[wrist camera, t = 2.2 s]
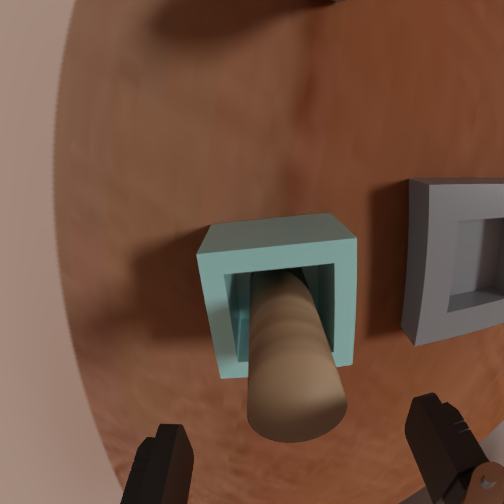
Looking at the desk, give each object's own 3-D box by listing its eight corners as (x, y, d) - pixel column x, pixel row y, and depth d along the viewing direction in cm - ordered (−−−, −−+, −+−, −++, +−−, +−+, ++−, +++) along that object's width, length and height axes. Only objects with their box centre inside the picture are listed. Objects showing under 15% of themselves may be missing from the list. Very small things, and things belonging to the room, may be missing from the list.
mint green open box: (211, 224, 21) (196, 254, 16) (330, 212, 21) (356, 238, 15) (227, 327, 24) (220, 378, 18) (332, 316, 24) (352, 364, 18)
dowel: (247, 257, 21) (241, 383, 10) (302, 251, 21) (350, 370, 10) (253, 305, 22) (252, 445, 11) (304, 300, 22) (343, 435, 11)
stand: (408, 178, 20) (429, 184, 17) (517, 178, 20) (540, 184, 17) (400, 326, 24) (414, 346, 21) (501, 303, 24) (519, 317, 21)
